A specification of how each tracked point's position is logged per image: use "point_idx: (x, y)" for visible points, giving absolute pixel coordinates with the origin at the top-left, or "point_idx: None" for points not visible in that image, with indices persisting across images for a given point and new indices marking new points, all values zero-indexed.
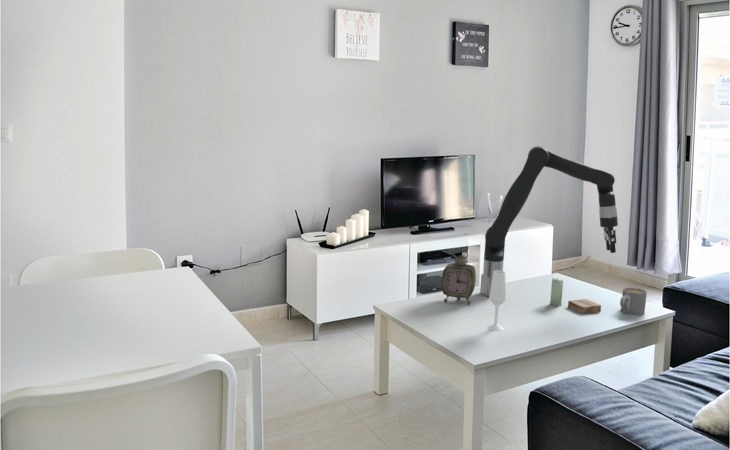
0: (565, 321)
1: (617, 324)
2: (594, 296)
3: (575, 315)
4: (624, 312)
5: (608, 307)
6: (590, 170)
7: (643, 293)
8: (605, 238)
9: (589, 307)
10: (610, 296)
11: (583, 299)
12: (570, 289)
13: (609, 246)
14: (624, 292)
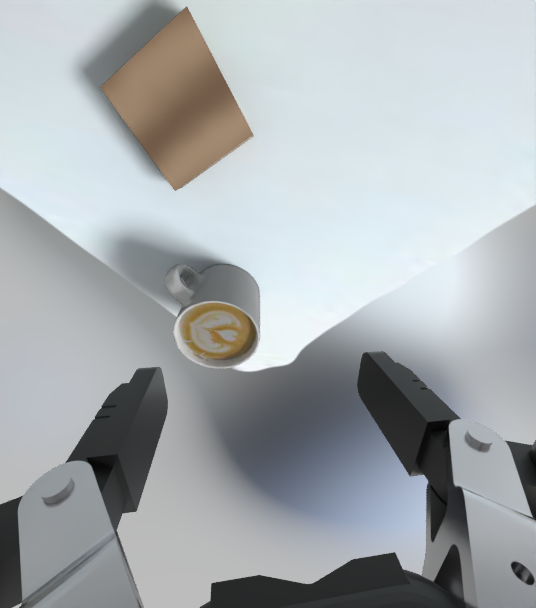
0: None
1: (55, 221)
2: (379, 201)
3: (71, 44)
4: (204, 270)
5: (246, 228)
6: None
7: (184, 354)
8: (460, 499)
9: (131, 128)
10: (379, 260)
11: (238, 117)
12: (491, 102)
13: (381, 403)
14: (200, 298)
